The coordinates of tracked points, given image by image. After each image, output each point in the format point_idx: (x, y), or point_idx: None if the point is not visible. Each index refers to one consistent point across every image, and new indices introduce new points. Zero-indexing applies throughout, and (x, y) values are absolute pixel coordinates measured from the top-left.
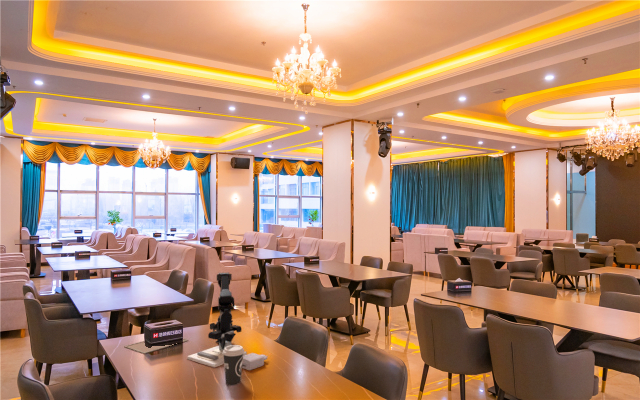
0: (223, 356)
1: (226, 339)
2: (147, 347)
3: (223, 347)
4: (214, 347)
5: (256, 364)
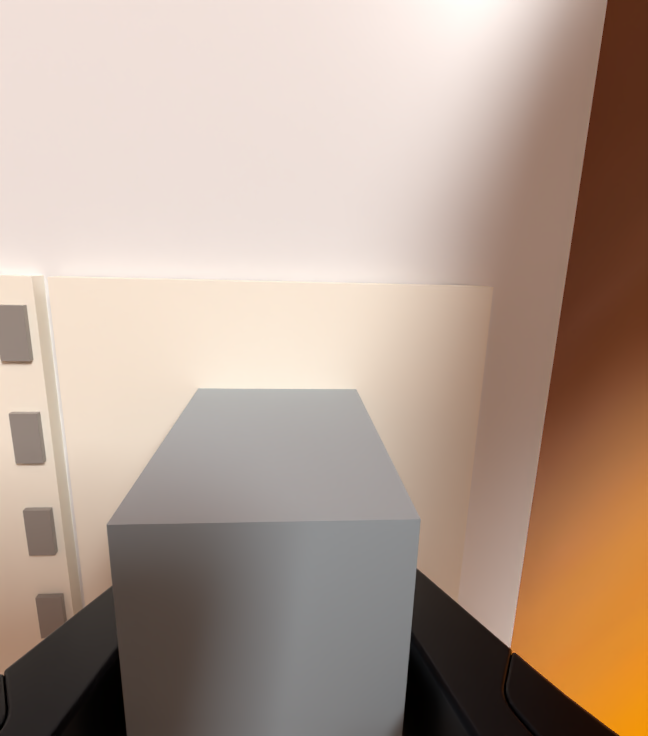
0: None
1: (452, 730)
2: None
3: None
4: (339, 22)
5: None
